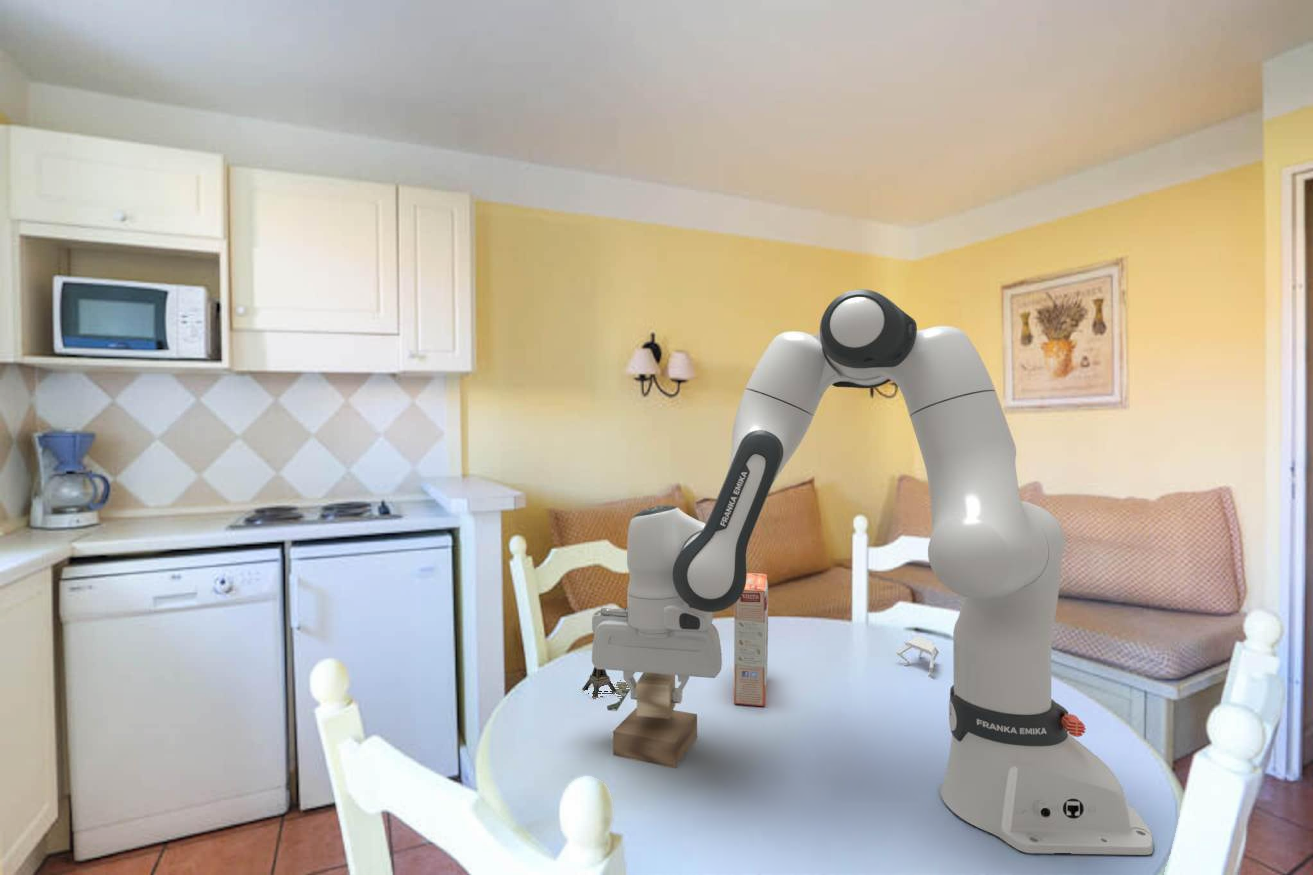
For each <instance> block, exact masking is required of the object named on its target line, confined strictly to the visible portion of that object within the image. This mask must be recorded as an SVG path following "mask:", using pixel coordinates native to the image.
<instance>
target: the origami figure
mask: <svg viewBox="0 0 1313 875" xmlns="http://www.w3.org/2000/svg"><path fill="white" fill-rule="evenodd" d="M912 648H913V649H915V650H918V651H919V654H918V658H919V659H920V658H922V657H921V656H922V654H923V653H926V654H928V655H930V662H929V672H928V673H927V674H926V675H925V676H926V677H929V676H930V675H931V674H932V672H933V671H934V666H935V664H934V662H935V660H936V658H937V656H938V655H939V653H940V651H939V650H938V649H937V647H936V646H935V642H933V641H930V640H928V639H927V638H924V637H921V636H919V635H917V636H915V637H914V638H912V639H910V640H908V641H904V645H903V647H901V648H899V649H898V650H897V651H895V654H897V655H898V656H899V657H900V658H902V659H903V660H905V661H906V662H905V663H902V664H903V665H902V666H904V665H905V666H908V665H911V664H912V662H911V661H910V660H909V659H908V658H907V657H906V656H905V655H904V654H903V653H904V652H906V651H908V650H909V649H912ZM933 665H934V666H933Z"/></svg>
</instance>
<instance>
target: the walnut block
mask: <svg viewBox="0 0 1313 875" xmlns="http://www.w3.org/2000/svg"><path fill="white" fill-rule="evenodd" d="M696 739H698V714H697V713H692V712H687V711H682V710H676V709H675V710H674V709H673V711H672V714H671V716H670V718H669V719H666V718H655V717H644V716H637V707H635V708H634V709H633V711H631V713H629V714H628V715H627V716H626V717H625V718H624V720H622V722H620V724H618V725H617V727H616V728H614V730H612V753H613V754H612V756H614V757H615V756H616V757H619V758H625V759H630V760H635V761H639V762H643V763H644V762H646V763H648V764H649V763H650V764H653V765H659V766H662V767H667V768H668V767H669V768H672V769H676V768H677V767H678V765H679V763H680V762H681V761H682V759H683V758H685V757H684V756H685V755H686V754H687V753H688V751H689V749H690V748H691V747H692V745H693V744H694V742H695V741H696Z"/></svg>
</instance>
